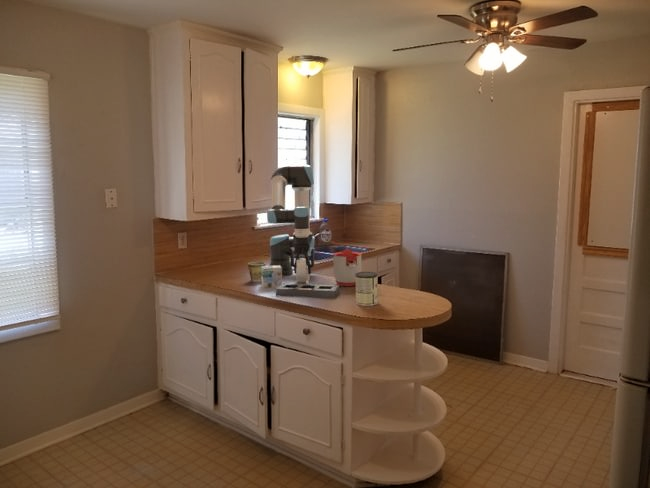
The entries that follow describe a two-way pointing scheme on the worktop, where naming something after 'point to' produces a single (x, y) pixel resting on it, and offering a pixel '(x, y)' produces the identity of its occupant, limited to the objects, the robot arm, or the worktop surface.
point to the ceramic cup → (255, 270)
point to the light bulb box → (271, 276)
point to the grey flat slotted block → (308, 290)
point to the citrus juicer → (346, 267)
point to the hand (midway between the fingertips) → (302, 279)
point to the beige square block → (302, 271)
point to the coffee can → (366, 288)
